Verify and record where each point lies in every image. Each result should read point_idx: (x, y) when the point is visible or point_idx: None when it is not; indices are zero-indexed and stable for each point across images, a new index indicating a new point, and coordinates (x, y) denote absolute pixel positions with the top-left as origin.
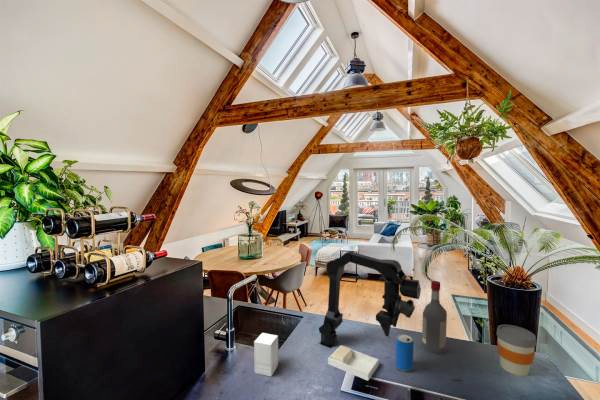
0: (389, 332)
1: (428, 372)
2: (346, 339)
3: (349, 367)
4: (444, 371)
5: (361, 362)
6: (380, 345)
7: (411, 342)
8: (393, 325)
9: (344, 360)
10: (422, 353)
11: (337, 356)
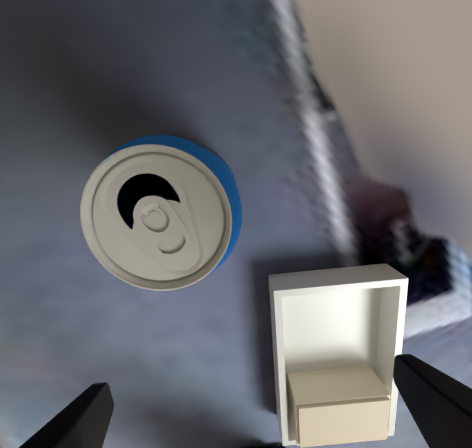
0: (449, 396)
1: (150, 78)
2: (183, 440)
3: (399, 352)
4: (77, 5)
5: (296, 334)
6: (116, 331)
7: (163, 146)
8: (107, 416)
9: (372, 387)
10: (13, 157)
11: (388, 421)
